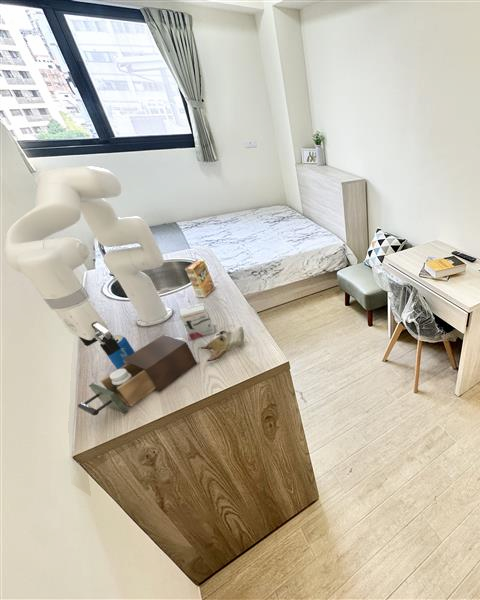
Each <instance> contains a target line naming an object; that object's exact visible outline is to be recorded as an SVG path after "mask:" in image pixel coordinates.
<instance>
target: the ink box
mask: <svg viewBox="0 0 480 600" xmlns="http://www.w3.org/2000/svg"><path fill="white" fill-rule="evenodd" d="M178 312H179V317H180V320H181V322H182V323H183V325H184V328H185V330H186V332H187V333H188V336H189V338H190V340H192V341H193V340H195V339H198V338H201V337H204V336H208V335H211V334H214V333H216V332H215V326H214V323H213V321H212V319H211V317H210V314H209V311H208V309H207V306H206V305H205V303H203V302H200V303H198V304H194V305H189V306H187V307H186V306H185V307H184V308H180V309H179V311H178Z"/></svg>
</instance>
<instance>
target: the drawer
mask: <svg viewBox="0 0 480 600" xmlns="http://www.w3.org/2000/svg"><path fill="white" fill-rule="evenodd" d="M119 369H126V370H127V372H128V373H130V374H131V375H132V378H131V379H130V380H128V381H127V382H125V383H124V384H122V385H121V386H119V387H118V388H117V389H116V388H115V387H114V385H113V384H112V380H111V378H110V374H108V375H107V376H105V377H103V378H102V379H101V380H100V383H101V384H102V385H103V386H101V385H99V384H97V383H95V382H92V383H90V384H89V385H88V387H89V389H91V391H92V393H94V394H95V395H93V396H92V397H90V398H88V399H87V400H86V401H84V402H80V403H79V404H77V408H78V409H80V410H83V411H84V412H86V413H88V414H90V415H92V416H97V415H99V413H100V411H102V410H103V409H105V408H106V407H108V408H110V409H112V410H115V411H116V412H118V413H121V414H122V415H126V414H127V413H129V410H128V408H127V407H126V406H125V405H127V406H129V407H133V406H134V405H135V404H137V403H138V402H139V401H140V400H142V399H143V398H145V397H146V396H147V395H149V394H150V393H152V392H153V391H155V390H154V389H155V388H156V387H155V385H154V383H153V382H152V380H151V379H150V377H149V376H148V374H147V373H146V371H145V370H143V369H140V368H138V367H135V366H133V365H130V364H128V363H127V364H125V365H124V366H122V367H121V368H119ZM117 390H118V391H119V392H120V393H119V392H118V391H117ZM120 394H121V395H122V396H123V397H122V396H121V395H120ZM95 399H99V401H100V402H101V403H102V405H101V406H100V407H98V408H97V409H96V408H93V407H92V406H90V405H88V404H89V403H91V402H92V401H95Z"/></svg>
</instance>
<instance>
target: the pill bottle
mask: <svg viewBox="0 0 480 600" xmlns="http://www.w3.org/2000/svg"><path fill="white" fill-rule="evenodd" d="M109 375H110V378H111V380H112V384H113V385H114V387H115V388H116V389H117V388H118V387H119V386H121V385H122V384H124V383H125V382H127V381H128V380H130V379H131V378H132V375H131V374H130V373H128V372H127V370H126V369H118V370H117V369H116V370H114V371H112V372H111V373H110V374H109ZM117 391H118V390H117ZM118 392H119V391H118ZM119 393H120V392H119ZM120 395H121V394H120ZM121 396H122V395H121ZM122 397H123V396H122Z"/></svg>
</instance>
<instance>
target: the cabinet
mask: <svg viewBox="0 0 480 600" xmlns="http://www.w3.org/2000/svg"><path fill="white" fill-rule="evenodd" d="M188 344H189V343H188V342H187V341H184V340H182V339H179V338H176V337H174V336H173V337H172V336H170V335H167V334H162V335H160V336H159V337H157V338H155V339H154V340H152V341H151V342H149V343H147V344H146V345H144V346H142V347H141V348H139V349H138V350H136V351H134V352H135V353H133V354H131V355H130V356H128V357H127V358H125V359H123V361H124V363H125V364H127V363H128V364H130V365H133V366H135V367H138V368H140V369H143V370H145V371H146V373H147V374H148V376H149V377H150V379H151V380H152V382H153V383H154V385H155V387H156V388H155V389H154V390H153V391H157V392H159V393H161V392H163V390H164V389H166V388H168V387H169V386H171V384H173V383H174V382H175V381H176V380H178V379H179V378H181V377H183V375H184V374H186V373H187V372H189V371H190V370H191V369H192V368H194V367H195V366H197V364H198V362H197V361H196V358H195V357H194V355H193V354H194V353H192V350H191V348H190V347H189V345H188Z"/></svg>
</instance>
